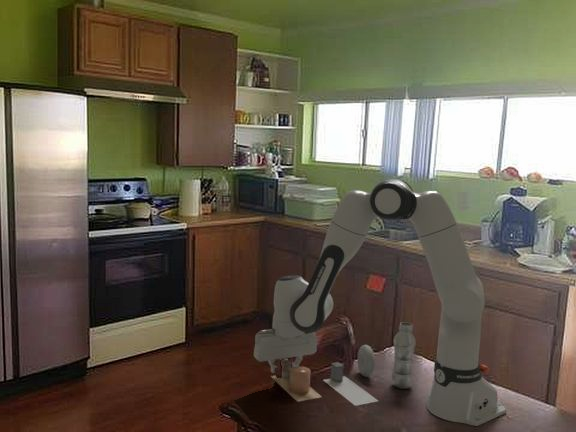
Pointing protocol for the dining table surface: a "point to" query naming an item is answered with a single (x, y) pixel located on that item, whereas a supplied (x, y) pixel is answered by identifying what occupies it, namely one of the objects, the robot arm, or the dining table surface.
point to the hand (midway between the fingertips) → (284, 370)
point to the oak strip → (286, 379)
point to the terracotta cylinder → (299, 380)
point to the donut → (366, 360)
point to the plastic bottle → (403, 357)
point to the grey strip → (347, 386)
